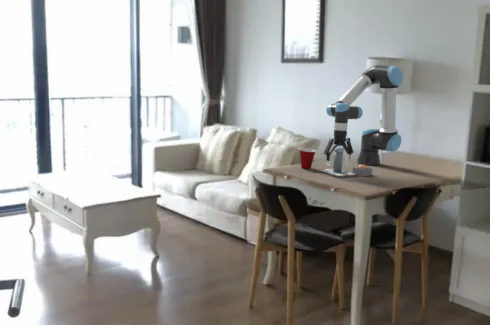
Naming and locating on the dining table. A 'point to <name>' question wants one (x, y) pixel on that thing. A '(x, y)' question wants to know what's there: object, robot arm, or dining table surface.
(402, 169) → the dining table surface
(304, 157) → the plastic cup
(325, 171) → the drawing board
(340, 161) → the grey tall block
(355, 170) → the button housing
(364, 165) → the button
